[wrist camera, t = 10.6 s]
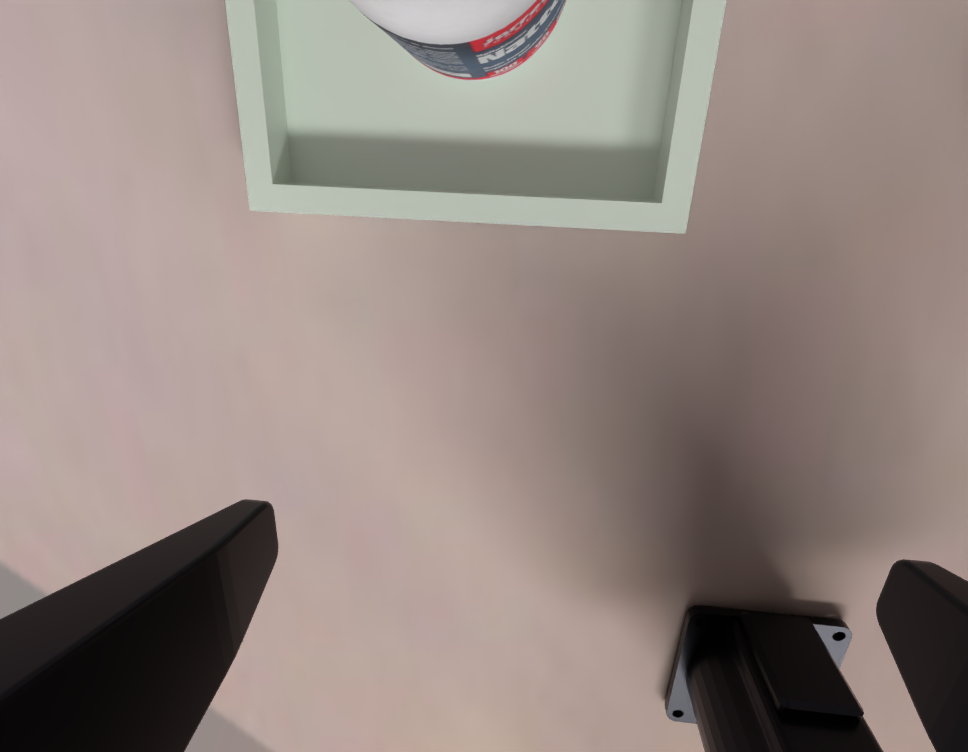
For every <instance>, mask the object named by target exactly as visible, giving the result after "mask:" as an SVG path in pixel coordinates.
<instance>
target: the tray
mask: <svg viewBox="0 0 968 752" xmlns="http://www.w3.org/2000/svg"><path fill="white" fill-rule="evenodd" d="M726 1H727V0H566V3H565V6H564V8H563V11H562V14H561V16H560V18H559V20H558V23H557V25H556V27H555V28H554V30H553V32H552V34H551V35H550V36H549V38H548V39H547V41H546V42H545V44H544V45H543V46H542V47H541V48H540V50H539V51H538V52H537V53H536V54H535V55H534V56H533V57H532V58H531V59H529V60H528V61H527V62H526V63H524V64H523V65H522V66H520V67H519V68H517V69H516V70H514V71H512V72H510V73H508V74H506V75H503V76H500V77H498V78H494V79H490V80H484V81H462V80H457V79H452V78H449V77H446V76H443V75H441V74H438V73H436V72H434V71H432V70H431V69H429V68H428V67H426V66H425V65H423V64H422V63H420V62H419V61H418V60H416V59H415V58H414V57H413V56H412V55H411V54H410V53H408V52H407V51H406V50H405V49H404V48H403V47H402V46H400V45H399V44H398V43H397V42H396V41H395V40H393V39H392V38H391V37H390V36H389V35H388V34H386V33H385V32H384V31H383V30H382V29H380V28H379V27H378V26H377V25H375V24H374V23H373V22H372V21H370V20H369V19H368V18H367V17H366V16H364V15H363V14H362V13H361V12H360V11H359V10H358V9H357V8H356V7H355V6H354V5H353V4H352V3H351V2H350V1H349V0H225V4H226V13H227V21H228V30H229V38H230V47H231V55H232V64H233V73H234V81H235V90H236V98H237V107H238V115H239V124H240V132H241V141H242V149H243V158H244V166H245V175H246V183H247V192H248V200H249V209H250V211H264V212H283V213H302V214H321V215H340V216H359V217H378V218H397V219H416V220H435V221H454V222H473V223H492V224H511V225H530V226H549V227H568V228H587V229H606V230H625V231H643V232H662V233H681V234H686V228H687V222H688V217H689V211H690V205H691V200H692V194H693V188H694V183H695V177H696V171H697V165H698V160H699V154H700V148H701V143H702V137H703V131H704V126H705V120H706V114H707V109H708V103H709V97H710V92H711V86H712V80H713V74H714V69H715V63H716V57H717V52H718V46H719V40H720V35H721V29H722V23H723V18H724V12H725V6H726Z"/></svg>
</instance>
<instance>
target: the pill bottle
mask: <svg viewBox="0 0 968 752" xmlns="http://www.w3.org/2000/svg"><path fill="white" fill-rule="evenodd" d="M349 1H350V2H351V3H352V4H353V5H354V6H355V7H356V8H357V9H358V10H359V11H360V12H361V13H362V14H363V15H364V16H366V17H367V18H368V19H369V20H370V21H372V22H373V23H374V24H375V25H377V26H378V27H379V28H380V29H382V30H383V31H384V32H385V33H386V34H388V35H389V36H390V37H391V38H392V39H393V40H395V41H396V42H397V43H398V44H399V45H400V46H402V47H403V48H404V49H405V50H406V51H407V52H408V53H410V54H411V55H412V56H413V57H414V58H415V59H416V60H418V61H419V62H420V63H422V64H423V65H425V66H426V67H428V68H429V69H431V70H432V71H434V72H436V73H438V74H441V75H443V76H446V77H449V78H452V79H457V80H462V81H484V80H490V79H494V78H498V77H500V76H503V75H506V74H508V73H510V72H512V71H514V70H516V69H517V68H519V67H520V66H522V65H523V64H524V63H526V62H527V61H528V60H529V59H531V58H532V57H533V56H534V55H535V54H536V53H537V52H538V51H539V50H540V48H541V47H542V46H543V45H544V44H545V42H546V41H547V39H548V38H549V36H550V35H551V34H552V32H553V30H554V28H555V27H556V25H557V23H558V20H559V18H560V16H561V14H562V11H563V8H564V6H565V3H566V0H349Z"/></svg>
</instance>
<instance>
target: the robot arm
mask: <svg viewBox="0 0 968 752" xmlns="http://www.w3.org/2000/svg"><path fill="white" fill-rule="evenodd" d="M277 555H278V539H277V531H276V523H275V515H274V509H273V506H272V504H270V503H269V502H267V501H259V500H248V499H245V500H241V501H239V502H237V503H235V504H233V505H231V506H229V507H227V508H225V509H223V510H221V511H219V512H217V513H215V514H213V515H210V516H208V517H206V518H204V519H202V520H200V521H198V522H196V523H194V524H192V525H190V526H188V527H186V528H184V529H182V530H180V531H178V532H176V533H174V534H172V535H170V536H168V537H166V538H164V539H162V540H160V541H158V542H156V543H154V544H152V545H150V546H148V547H146V548H144V549H142V550H140V551H137V552H135V553H133V554H131V555H129V556H127V557H125V558H123V559H121V560H119V561H117V562H115V563H113V564H111V565H109V566H107V567H105V568H103V569H101V570H99V571H97V572H95V573H93V574H91V575H89V576H87V577H85V578H83V579H81V580H79V581H77V582H75V583H73V584H71V585H69V586H67V587H64V588H62V589H60V590H58V591H56V592H54V593H52V594H50V595H48V596H46V597H44V598H42V599H41V600H38V601H36V602H34V603H32V604H30V605H28V606H26V607H24V608H22V609H20V610H18V611H16V612H14V613H12V614H10V615H8V616H6V617H4V618H2V619H0V752H184V751H185V749H186V747H187V745H188V744H189V742H190V740H191V738H192V736H193V734H194V733H195V731H196V729H197V727H198V725H199V724H200V722H201V720H202V718H203V716H204V714H205V713H206V711H207V709H208V707H209V705H210V703H211V702H212V700H213V698H214V696H215V694H216V692H217V691H218V689H219V687H220V685H221V683H222V681H223V680H224V678H225V676H226V674H227V672H228V670H229V668H230V666H231V664H232V662H233V660H234V659H235V657H236V654H237V652H238V650H239V648H240V645H241V643H242V641H243V639H244V636H245V634H246V632H247V629H248V627H249V624H250V622H251V620H252V617H253V615H254V612H255V610H256V608H257V605H258V603H259V600H260V598H261V596H262V593H263V591H264V589H265V586H266V584H267V581H268V579H269V577H270V574H271V572H272V569H273V567H274V565H275V562H276V559H277ZM876 614H877V619H878V622H879V625H880V627H881V630H882V632H883V634H884V637H885V639H886V641H887V644H888V646H889V648H890V651H891V653H892V655H893V657H894V660H895V662H896V664H897V667H898V669H899V671H900V674H901V676H902V678H903V680H904V683H905V685H906V687H907V690H908V692H909V694H910V697H911V699H912V701H913V704H914V706H915V708H916V710H917V713H918V715H919V717H920V719H921V722H922V724H923V726H924V728H925V730H926V732H927V734H928V736H929V738H930V740H931V742H932V744H933V746H934V748H935V750H936V752H968V581H966V580H964V579H962V578H961V577H959V576H957V575H955V574H953V573H951V572H950V571H948V570H946V569H944V568H942V567H940V566H939V565H937V564H934V563H931V562H926V561H916V560H899V561H897V562H896V563H894V564H893V566H892V567H891V570H890V572H889V575H888V577H887V579H886V582H885V584H884V587H883V589H882V592H881V594H880V597H879V599H878V602H877V607H876ZM698 618H702V619H698ZM836 632H837V633H836ZM851 638H852V633H851V631H850V629H849V628H848V626H847V625H846V623H845V622H843V621H842V620H838V619H828V618H818V617H808V616H798V615H788V614H778V613H768V612H758V611H749V610H739V609H729V608H719V607H709V606H694V607H692V608H690V609H689V610H688V611H687V613H686V617H685V622H684V626H683V630H682V634H681V638H680V643H679V647H678V651H677V655H676V659H675V664H674V668H673V672H672V676H671V681H670V685H669V689H668V693H667V697H666V702H665V709H666V714H667V716H668V718H669V719H671V720H673V721H678V722H686V723H695V724H697V725H698V729H699V732H700V736H701V739H702V743H703V747H704V750H705V752H883V750H882V749H881V747H880V745H879V743H878V742H877V740H876V738H875V736H874V735H873V733H872V731H871V729H870V728H869V726H868V724H867V723H866V721H865V719H864V717H863V714H864V712H863V709H862V707H861V705H860V704H859V702H858V700H857V699H856V697H855V695H854V694H853V692H852V690H851V688H850V687H849V685H848V683H847V682H846V680H845V678H844V676H843V675H842V673H841V671H840V670H839V669H840V666H841V664H842V661H843V658H844V656H845V653H846V651H847V648H848V646H849V643H850V641H851Z"/></svg>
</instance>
